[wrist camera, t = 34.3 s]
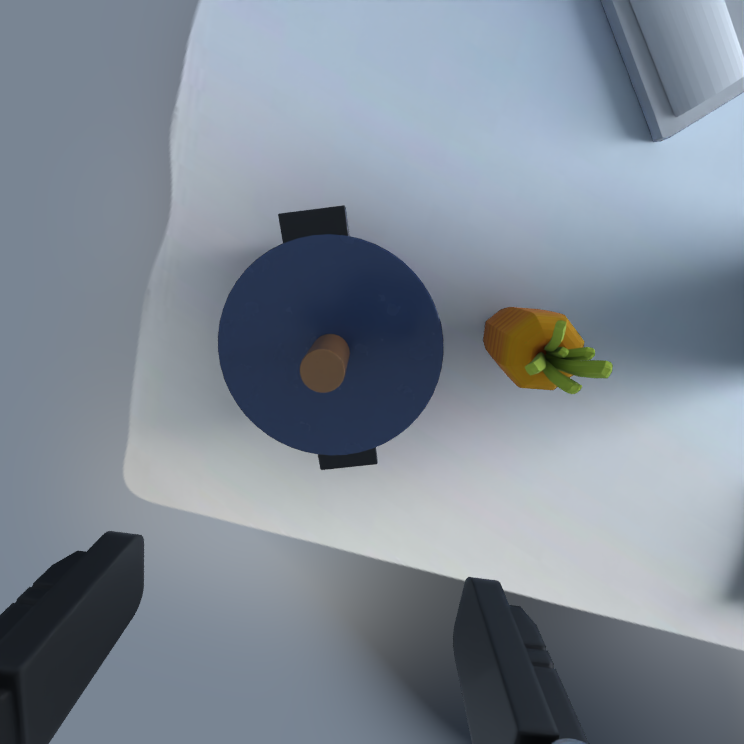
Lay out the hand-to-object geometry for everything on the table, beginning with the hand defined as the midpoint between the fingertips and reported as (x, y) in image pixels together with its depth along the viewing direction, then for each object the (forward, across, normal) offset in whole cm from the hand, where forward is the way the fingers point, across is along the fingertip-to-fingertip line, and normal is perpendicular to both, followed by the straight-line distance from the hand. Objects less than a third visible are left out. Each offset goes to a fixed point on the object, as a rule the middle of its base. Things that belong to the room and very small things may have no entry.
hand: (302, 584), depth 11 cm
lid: (+20, +1, -1) cm, 20 cm away
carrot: (+26, -11, -4) cm, 29 cm away
